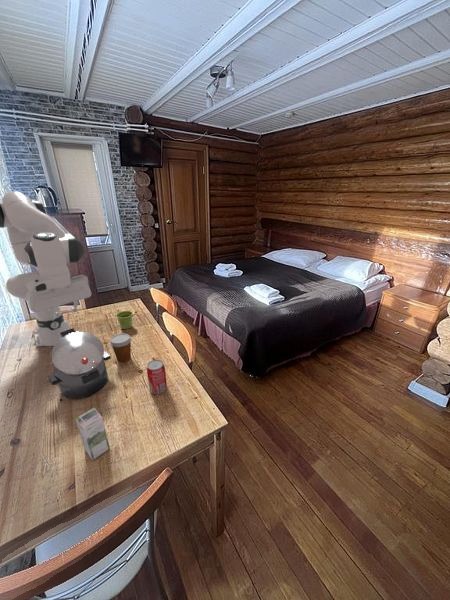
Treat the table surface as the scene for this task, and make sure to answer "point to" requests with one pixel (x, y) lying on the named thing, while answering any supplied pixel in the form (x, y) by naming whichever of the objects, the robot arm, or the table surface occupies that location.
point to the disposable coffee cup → (121, 347)
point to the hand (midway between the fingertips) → (66, 314)
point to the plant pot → (125, 319)
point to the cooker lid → (77, 353)
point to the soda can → (156, 376)
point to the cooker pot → (81, 381)
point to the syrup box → (93, 433)
